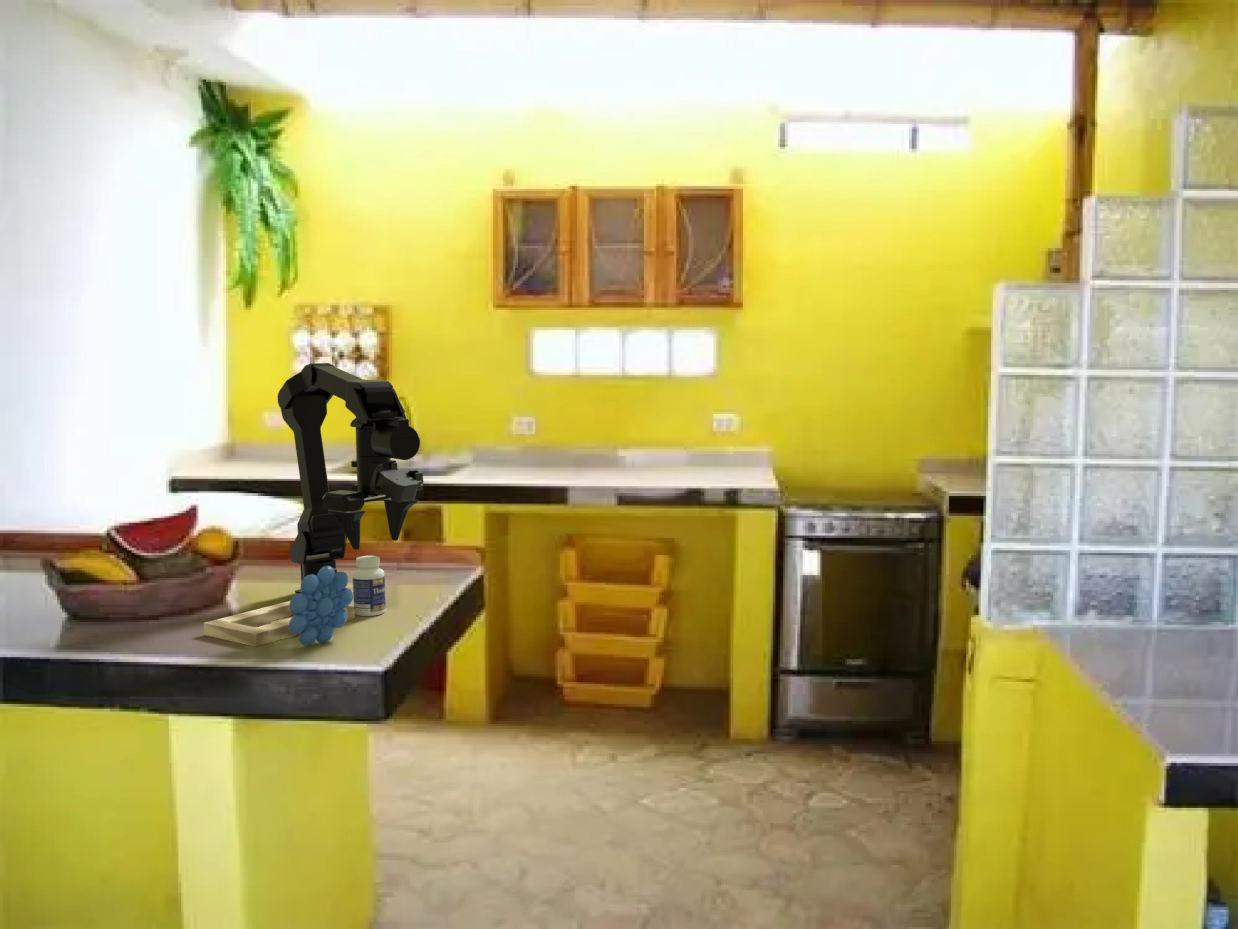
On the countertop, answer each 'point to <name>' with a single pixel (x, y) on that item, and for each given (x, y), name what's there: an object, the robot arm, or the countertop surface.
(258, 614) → the wooden frame
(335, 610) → the blue ball flower
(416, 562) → the countertop surface
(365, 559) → the pill bottle
